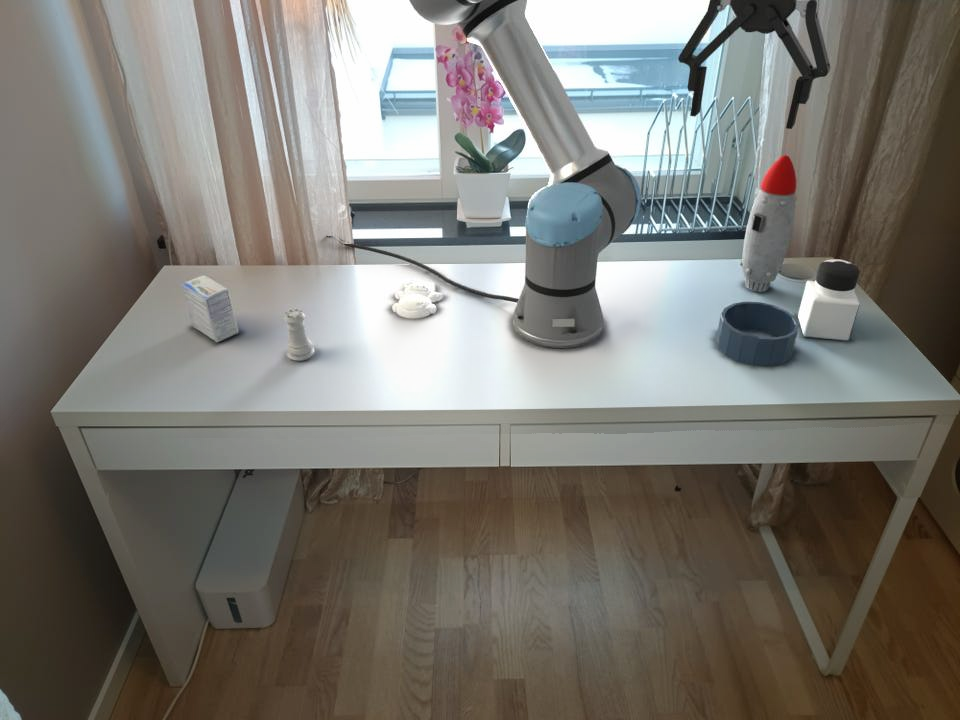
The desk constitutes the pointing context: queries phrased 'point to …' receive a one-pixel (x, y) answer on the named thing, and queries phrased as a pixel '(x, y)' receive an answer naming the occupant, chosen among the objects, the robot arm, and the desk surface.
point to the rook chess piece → (298, 337)
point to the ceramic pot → (755, 347)
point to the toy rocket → (770, 226)
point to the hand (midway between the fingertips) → (741, 120)
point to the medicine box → (210, 308)
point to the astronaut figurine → (416, 300)
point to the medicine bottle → (830, 301)
